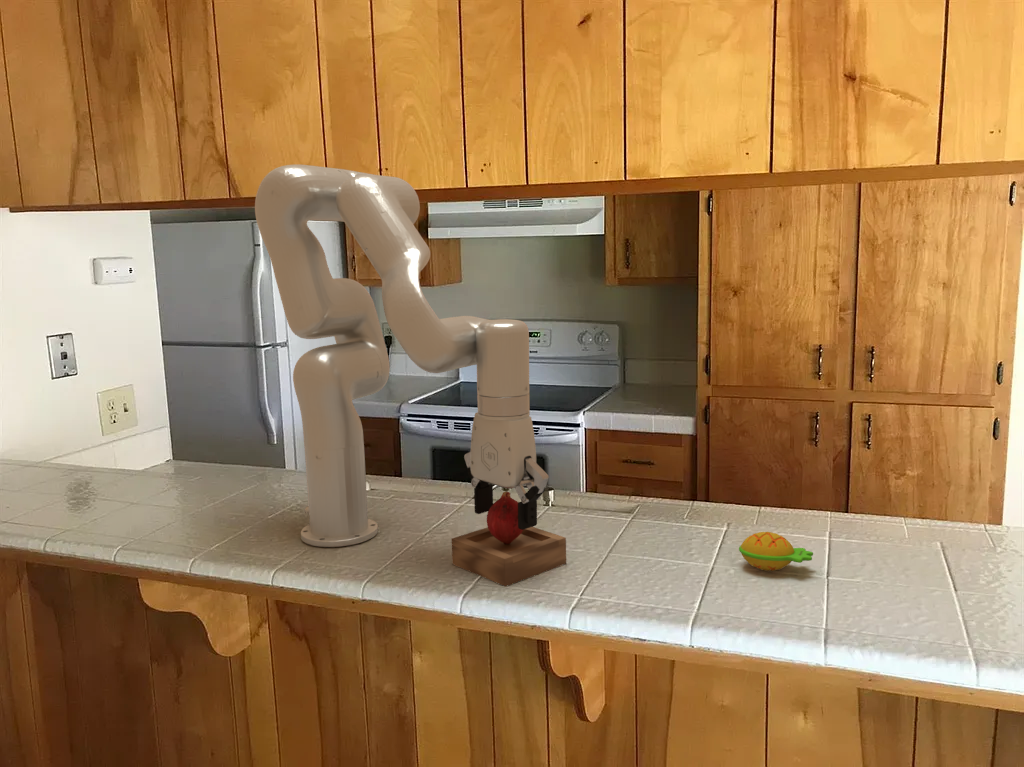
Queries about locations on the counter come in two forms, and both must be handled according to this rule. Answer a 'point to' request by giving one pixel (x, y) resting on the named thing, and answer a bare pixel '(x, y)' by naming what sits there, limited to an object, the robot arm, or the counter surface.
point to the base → (509, 554)
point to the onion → (504, 519)
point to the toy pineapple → (771, 551)
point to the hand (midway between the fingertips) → (505, 519)
